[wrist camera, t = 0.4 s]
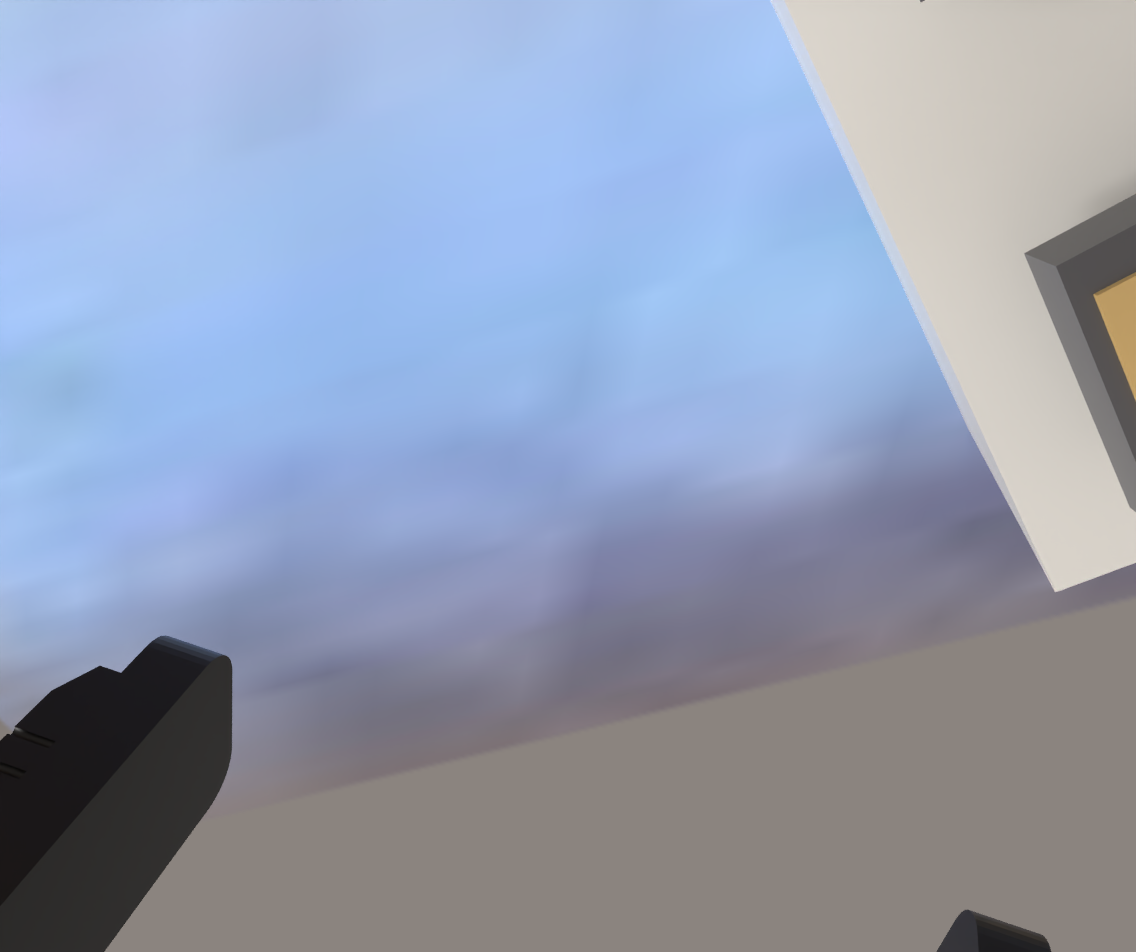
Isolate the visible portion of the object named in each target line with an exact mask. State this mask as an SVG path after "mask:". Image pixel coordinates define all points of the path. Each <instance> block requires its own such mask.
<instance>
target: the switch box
mask: <svg viewBox="0 0 1136 952" xmlns="http://www.w3.org/2000/svg"><path fill="white" fill-rule="evenodd" d="M770 1H771V3H772V5H773V7H774V10H775V12H776V14H777V16H778V18H779V20H780V23H781V25H782V27H783V29H784V31H785V33H786V36H787V38H788V40H789V42H790V44H791V46H792V49H793V51H794V53H795V55H796V57H797V59H798V62H799V64H800V66H801V68H802V70H803V72H804V75H805V77H806V79H807V81H808V83H809V85H810V88H811V90H812V92H813V94H814V96H815V98H816V100H817V103H818V105H819V107H820V109H821V111H822V113H823V116H824V118H825V120H826V122H827V124H828V126H829V129H830V131H831V133H832V135H833V137H834V139H835V142H836V144H837V146H838V148H839V150H840V152H841V155H842V157H843V159H844V161H845V163H846V165H847V168H848V170H849V172H850V174H851V176H852V178H853V181H854V183H855V185H856V187H857V189H858V191H859V194H860V196H861V198H862V200H863V202H864V204H865V207H866V209H867V211H868V213H869V215H870V217H871V219H872V222H873V224H874V226H875V228H876V230H877V232H878V235H879V237H880V239H881V241H882V243H883V245H884V248H885V250H886V252H887V254H888V256H889V258H890V261H891V263H892V265H893V267H894V269H895V271H896V274H897V276H898V278H899V280H900V282H901V284H902V287H903V289H904V291H905V293H906V295H907V297H908V300H909V302H910V304H911V306H912V308H913V310H914V313H915V315H916V317H917V319H918V321H919V323H920V325H921V328H922V330H923V332H924V334H925V336H926V338H927V341H928V343H929V345H930V347H931V349H932V351H933V354H934V356H935V358H936V360H937V362H938V364H939V367H940V369H941V371H942V373H943V375H944V377H945V380H946V382H947V384H948V386H949V388H950V390H951V393H952V395H953V397H954V399H955V401H956V403H957V406H958V408H959V410H960V412H961V414H962V416H963V419H964V421H965V423H966V425H967V427H968V429H969V431H970V433H971V435H972V437H973V438H974V440H975V442H976V444H977V446H978V448H979V450H980V452H981V454H982V455H983V457H984V459H985V461H986V463H987V465H988V467H989V469H990V470H991V472H992V474H993V476H994V478H995V480H996V482H997V484H998V485H999V487H1000V489H1001V491H1002V493H1003V495H1004V497H1005V499H1006V501H1007V502H1008V504H1009V506H1010V508H1011V510H1012V512H1013V514H1014V516H1015V517H1016V519H1017V521H1018V523H1019V525H1020V527H1021V529H1022V531H1023V532H1024V534H1025V536H1026V538H1027V540H1028V542H1029V544H1030V546H1031V548H1032V549H1033V551H1034V553H1035V555H1036V557H1037V559H1038V561H1039V563H1040V564H1041V566H1042V568H1043V570H1044V572H1045V574H1046V576H1047V578H1048V580H1049V581H1050V583H1051V585H1052V587H1053V589H1054V591H1055V592H1058V591H1060V590H1063V589H1066V588H1068V587H1071V586H1074V585H1077V584H1079V583H1082V582H1085V581H1087V580H1090V579H1093V578H1095V577H1098V576H1101V575H1104V574H1106V573H1109V572H1112V571H1114V570H1117V569H1120V568H1122V567H1125V566H1128V565H1131V564H1133V563H1136V512H1135V511H1134V510H1132V509H1131V508H1130V507H1129V504H1128V502H1127V499H1126V497H1125V495H1124V492H1123V490H1122V487H1121V485H1120V483H1119V480H1118V478H1117V475H1116V473H1115V471H1114V468H1113V466H1112V463H1111V461H1110V459H1109V456H1108V454H1107V451H1106V449H1105V447H1104V444H1103V442H1102V439H1101V437H1100V435H1099V432H1098V430H1097V427H1096V425H1095V423H1094V420H1093V418H1092V415H1091V413H1090V411H1089V408H1088V406H1087V403H1086V401H1085V399H1084V396H1083V394H1082V391H1081V389H1080V387H1079V384H1078V382H1077V379H1076V377H1075V375H1074V372H1073V370H1072V367H1071V365H1070V363H1069V360H1068V358H1067V355H1066V353H1065V351H1064V348H1063V346H1062V343H1061V341H1060V339H1059V336H1058V334H1057V331H1056V329H1055V327H1054V324H1053V322H1052V319H1051V317H1050V315H1049V312H1048V310H1047V307H1046V305H1045V303H1044V300H1043V298H1042V295H1041V293H1040V291H1039V288H1038V286H1037V283H1036V281H1035V279H1034V276H1033V274H1032V271H1031V269H1030V267H1029V264H1028V262H1027V259H1026V257H1025V255H1024V253H1026V252H1028V251H1029V250H1031V249H1033V248H1035V247H1037V246H1039V245H1041V244H1043V243H1044V242H1046V241H1048V240H1050V239H1052V238H1054V237H1056V236H1058V235H1059V234H1061V233H1063V232H1065V231H1067V230H1069V229H1071V228H1073V227H1074V226H1076V225H1078V224H1080V223H1082V222H1084V221H1086V220H1088V219H1089V218H1091V217H1093V216H1095V215H1097V214H1099V213H1101V212H1103V211H1104V210H1106V209H1108V208H1110V207H1112V206H1114V205H1116V204H1117V203H1119V202H1121V201H1123V200H1125V199H1127V198H1129V197H1131V196H1132V195H1134V194H1136V0H925V1H923V2H920V0H770Z"/></svg>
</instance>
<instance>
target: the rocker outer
mask: <svg viewBox="0 0 1136 952" xmlns="http://www.w3.org/2000/svg"><path fill="white" fill-rule="evenodd" d="M1024 255H1025V257H1026V259H1027V262H1028V264H1029V267H1030V269H1031V271H1032V274H1033V276H1034V279H1035V281H1036V283H1037V286H1038V288H1039V291H1040V293H1041V295H1042V298H1043V300H1044V303H1045V305H1046V307H1047V310H1048V312H1049V315H1050V317H1051V319H1052V322H1053V324H1054V327H1055V329H1056V331H1057V334H1058V336H1059V339H1060V341H1061V343H1062V346H1063V348H1064V351H1065V353H1066V355H1067V358H1068V360H1069V363H1070V365H1071V367H1072V370H1073V372H1074V375H1075V377H1076V379H1077V382H1078V384H1079V387H1080V389H1081V391H1082V394H1083V396H1084V399H1085V401H1086V403H1087V406H1088V408H1089V411H1090V413H1091V415H1092V418H1093V420H1094V423H1095V425H1096V427H1097V430H1098V432H1099V435H1100V437H1101V439H1102V442H1103V444H1104V447H1105V449H1106V451H1107V454H1108V456H1109V459H1110V461H1111V463H1112V466H1113V468H1114V471H1115V473H1116V475H1117V478H1118V480H1119V483H1120V485H1121V487H1122V490H1123V492H1124V495H1125V497H1126V499H1127V502H1128V504H1129V507H1130V508H1131V509H1132V510H1134V511H1135V512H1136V194H1134V195H1132V196H1131V197H1129V198H1127V199H1125V200H1123V201H1121V202H1119V203H1117V204H1116V205H1114V206H1112V207H1110V208H1108V209H1106V210H1104V211H1103V212H1101V213H1099V214H1097V215H1095V216H1093V217H1091V218H1089V219H1088V220H1086V221H1084V222H1082V223H1080V224H1078V225H1076V226H1074V227H1073V228H1071V229H1069V230H1067V231H1065V232H1063V233H1061V234H1059V235H1058V236H1056V237H1054V238H1052V239H1050V240H1048V241H1046V242H1044V243H1043V244H1041V245H1039V246H1037V247H1035V248H1033V249H1031V250H1029V251H1028V252H1026V253H1024Z"/></svg>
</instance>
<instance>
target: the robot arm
mask: <svg viewBox="0 0 1136 952" xmlns="http://www.w3.org/2000/svg"><path fill="white" fill-rule="evenodd" d="M231 751H232V664H231V661H230V659H229V657H227V656H225V655H222V654H219V653H216V652H214V651H211V650H208V649H205V648H202V647H199V646H196V645H193V644H190V643H187V642H184V641H181V640H178V639H175V638H172V637H169V636H160V637H158V638H156V639H155V640H153V641H152V642H151V643H150V644H149V645H148V646H147V647H146V648H145V649H144V650H143V651H142V652H141V653H140V654H139V655H138V656H137V657H136V658H135V659H134V660H133V661H132V662H131V663H130V664H129V665H128V666H127V667H126V668H125V669H124V671H123V672H122V673H119V672H117V671H114V670H111V669H108V668H105V667H102V666H98V667H97V668H95V669H93V670H91V671H89V672H87V673H85V674H83V675H81V676H79V677H77V678H75V679H73V680H71V681H69V682H67V683H66V684H64V685H62V686H60V687H58V688H56V689H54V690H52V691H51V692H50V693H49V694H48V695H47V696H46V697H44V698H43V699H42V700H41V701H40V702H39V703H38V704H37V705H36V706H35V707H34V708H33V709H32V710H31V711H30V712H29V713H28V714H27V715H26V716H25V717H24V718H23V719H22V720H21V721H20V722H19V723H18V724H17V725H16V726H15V729H14V731H13V733H12V734H11V735H10V734H7V735H6V736H5V737H4V738H3V739H2V740H1V741H0V952H104V951H105V950H106V948H107V947H108V946H109V944H110V943H111V942H112V940H113V939H114V938H115V936H116V935H117V933H118V932H119V931H120V929H121V928H122V927H123V925H124V924H125V922H126V921H127V920H128V918H129V917H130V916H131V914H132V913H133V911H134V910H135V909H136V907H137V906H138V905H139V903H140V902H141V901H142V899H143V898H144V896H145V895H146V894H147V892H148V891H149V890H150V888H151V887H152V886H153V884H154V883H155V881H156V880H157V879H158V877H159V876H160V875H161V873H162V872H163V871H164V869H165V868H166V866H167V865H168V864H169V862H170V861H171V860H172V858H173V857H174V855H175V854H176V853H177V851H178V850H179V849H180V847H181V846H182V845H183V843H184V842H185V840H186V839H187V838H188V836H189V835H190V834H191V832H192V830H193V829H194V828H195V827H196V825H197V824H198V823H199V821H200V820H201V819H202V817H203V816H204V814H205V813H206V812H207V810H208V809H209V808H210V806H211V805H212V803H213V801H214V800H215V798H216V796H217V794H218V792H219V790H220V788H221V786H222V784H223V782H224V779H225V776H226V774H227V770H228V767H229V763H230V759H231ZM937 952H1051V949H1050V946H1049V943H1048V942H1047V939H1046V938H1045V937H1044V936H1043V935H1041V934H1038V933H1035V932H1032V931H1029V930H1026V929H1023V928H1020V927H1017V926H1014V925H1011V924H1008V923H1005V922H1002V921H1000V920H996V919H994V918H991V917H988V916H985V915H982V914H979V913H976V912H973V911H970V910H965V911H963V912H961V914H960V915H959V916H958V917H957V919H956V920H955V922H954V923H953V925H952V927H951V928H950V930H949V932H948V933H947V935H946V937H945V938H944V940H943V942H942V943H941V945H940V947H939V948H938V950H937Z"/></svg>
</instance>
